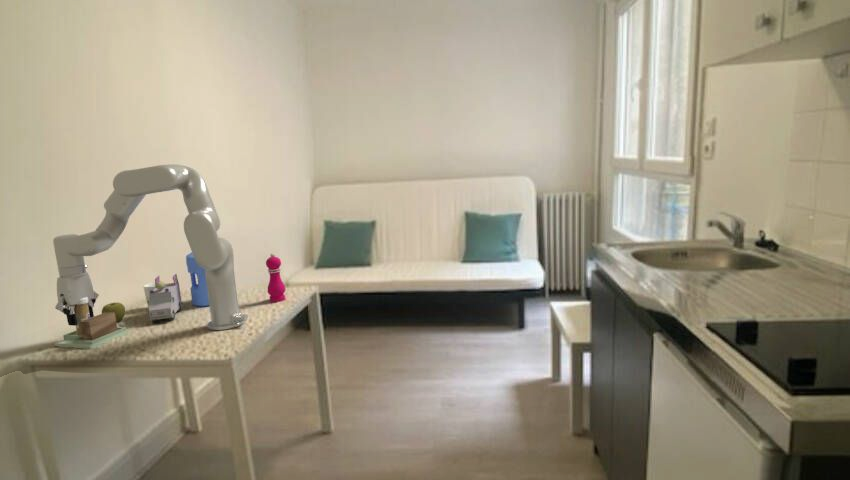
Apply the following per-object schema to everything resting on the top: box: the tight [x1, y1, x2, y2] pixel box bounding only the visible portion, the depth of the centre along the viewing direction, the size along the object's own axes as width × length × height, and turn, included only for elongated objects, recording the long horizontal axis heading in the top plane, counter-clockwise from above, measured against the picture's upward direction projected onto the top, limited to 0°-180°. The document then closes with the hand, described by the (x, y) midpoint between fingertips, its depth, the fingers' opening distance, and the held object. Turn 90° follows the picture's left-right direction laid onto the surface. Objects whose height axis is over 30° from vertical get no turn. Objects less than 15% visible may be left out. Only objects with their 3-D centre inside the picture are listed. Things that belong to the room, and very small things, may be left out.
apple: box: [101, 302, 126, 323], centre depth 192 cm, size 8×8×7 cm
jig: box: [53, 326, 129, 350], centre depth 173 cm, size 15×15×3 cm
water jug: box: [185, 252, 210, 307], centre depth 211 cm, size 16×16×28 cm
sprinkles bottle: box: [73, 297, 90, 335], centre depth 173 cm, size 5×5×14 cm
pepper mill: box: [265, 252, 286, 303], centre depth 208 cm, size 7×7×20 cm
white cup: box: [142, 281, 166, 310], centre depth 208 cm, size 8×8×10 cm
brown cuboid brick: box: [80, 312, 118, 341], centre depth 171 cm, size 4×10×7 cm, turn 165°
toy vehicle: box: [146, 273, 183, 323], centre depth 194 cm, size 9×20×15 cm, turn 15°
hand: (81, 321), depth 173 cm, fingers open, 5 cm apart
